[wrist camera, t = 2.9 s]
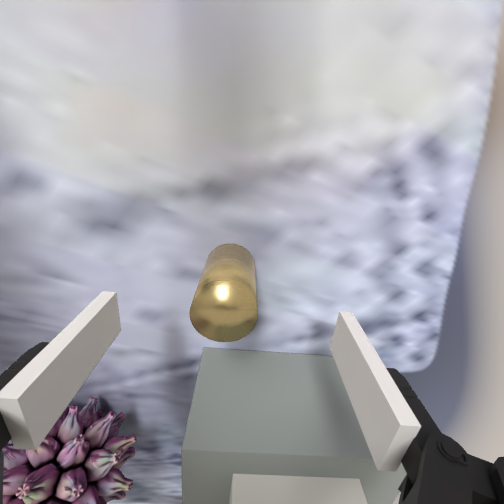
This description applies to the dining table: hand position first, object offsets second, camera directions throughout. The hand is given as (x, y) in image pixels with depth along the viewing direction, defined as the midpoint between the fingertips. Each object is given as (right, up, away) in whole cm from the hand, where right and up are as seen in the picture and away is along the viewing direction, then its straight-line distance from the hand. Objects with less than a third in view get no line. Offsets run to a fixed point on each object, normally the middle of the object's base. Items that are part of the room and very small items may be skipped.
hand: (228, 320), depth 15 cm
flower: (-15, -13, +13) cm, 24 cm away
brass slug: (0, +3, +6) cm, 7 cm away
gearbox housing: (+4, -12, +12) cm, 18 cm away
